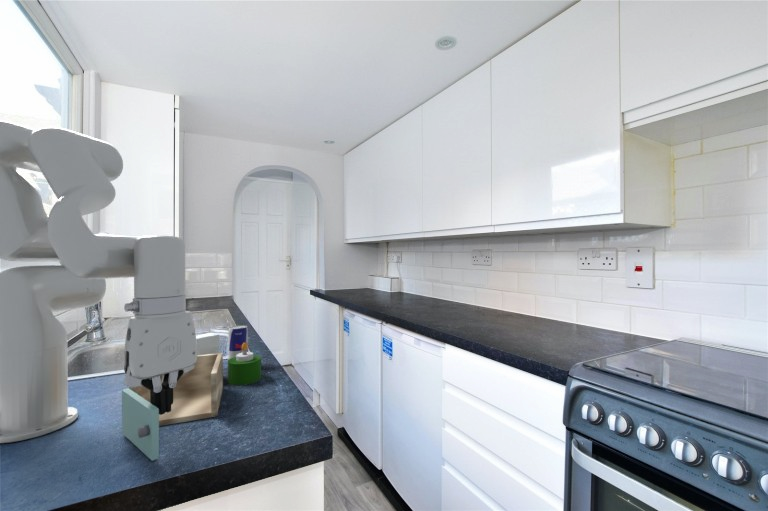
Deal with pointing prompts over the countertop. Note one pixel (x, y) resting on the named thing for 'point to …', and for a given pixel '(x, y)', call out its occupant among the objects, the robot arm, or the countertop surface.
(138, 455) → the countertop surface
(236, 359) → the candle
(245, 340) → the energy drink
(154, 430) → the door
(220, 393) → the crate
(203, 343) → the skincare box
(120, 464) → the countertop surface
